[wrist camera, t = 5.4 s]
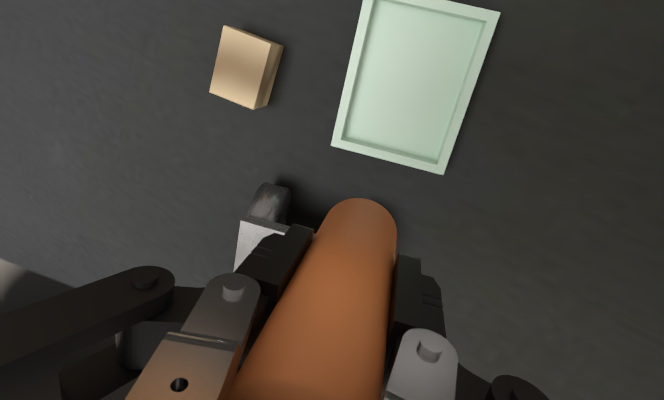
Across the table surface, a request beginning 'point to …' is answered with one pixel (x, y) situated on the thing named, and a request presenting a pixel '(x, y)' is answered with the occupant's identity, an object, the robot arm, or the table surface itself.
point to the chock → (245, 68)
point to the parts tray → (412, 79)
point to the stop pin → (329, 315)
